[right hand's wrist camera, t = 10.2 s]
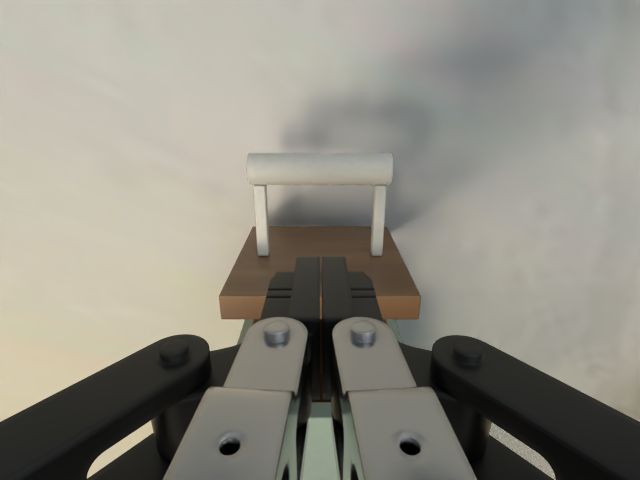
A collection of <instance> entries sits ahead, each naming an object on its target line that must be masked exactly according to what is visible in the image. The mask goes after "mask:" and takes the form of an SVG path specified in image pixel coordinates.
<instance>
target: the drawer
mask: <svg viewBox="0 0 640 480" xmlns="http://www.w3.org/2000/svg"><path fill="white" fill-rule="evenodd" d="M393 168H394V164H393V156H392V154H391V153H249V154H248V157H247V178H248V182H249V184H251V185H254V186H253V188H254V204H255V220H256V227H253V228H252V230H251V232H250V234H249V236H248V238H247V240H246V242H245V244H244V246H243V248H242V250H241V252H240V255H239V257H238V259H237V261H236V263H235V265H234V267H233V269H232V271H231V273H230V275H229V277H228V279H227V281H226V283H225V285H224V287H223V289H222V291H221V293H220V295H219V301H220V311H221V319H253V322H252V325H253V324H255V323H257V322H258V321H260V318H261V314H262V310H263V306H264V302H265V298H266V295H267V291H268V287H269V283H270V280H271V279H272V278H273V277H274V276H275V275H276V274H277V273H278V272H295V264H296V257H297V256H320V400H312V402H331V400H323V383H322V256H345V257H346V263H347V270H348V272H364V273H365V274H366V275H367V276H368V277H369V278H371V279H372V282H373V286H374V290H375V293H376V298H377V301H378V304H379V308H380V312H381V315H382V319H383V323H385V324H387V325H388V323H387V320H386V319H418V318H419V310H420V300H421V296H420V294H419V292H418V289H417V287H416V285H415V283H414V281H413V279H412V277H411V275H410V273H409V271H408V269H407V267H406V265H405V263H404V261H403V259H402V257H401V255H400V253H399V251H398V249H397V247H396V245H395V243H394V240H393V238H392V236H391V234H390V232H389V230H388V228H387V227H384V220H385V204H386V189H387V187H386V185H390V184H391V182H392V179H393ZM266 185H374V189H373V209H372V227H268V208H267V188H266Z"/></svg>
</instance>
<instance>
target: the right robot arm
mask: <svg viewBox="0 0 640 480" xmlns="http://www.w3.org/2000/svg"><path fill="white" fill-rule="evenodd" d="M322 383H323V400H331V431H332V439H333V447H334V455H335V463H336V471H337V479H338V480H554V479H552V478H551V477H549V476H548V475H546V474H545V473H543V472H542V471H541V470H539V469H538V468H536V467H535V466H533V465H532V464H531V463H529V462H528V461H526V460H525V459H523V458H522V457H521V456H519V455H518V454H516V453H515V452H513V451H512V450H510V449H509V448H508V447H506V446H505V445H503V444H502V443H500V442H499V441H498V440H496V439H495V438H493V437H492V436H490V435H489V432H490V427H491V422H493V423H494V424H496V425H497V426H499V427H500V428H502V429H503V430H505V431H506V432H508V433H509V434H511V435H512V436H514V437H515V438H517V439H518V440H520V441H521V442H523V443H524V444H526V445H527V446H529V447H530V448H532V449H533V450H535V451H536V452H538V453H539V454H540V455H541V456H543V457H544V458H545V459H546V460H547V462H548V463H549V464H550V466H551V467H552V469H553V471H554V473H555V477H556V480H640V422H639V421H637V420H635V419H633V418H631V417H629V416H627V415H625V414H623V413H621V412H619V411H617V410H615V409H613V408H611V407H609V406H607V405H606V404H604V403H602V402H600V401H598V400H596V399H594V398H592V397H590V396H588V395H586V394H584V393H582V392H580V391H578V390H576V389H574V388H572V387H571V386H569V385H567V384H565V383H563V382H561V381H559V380H557V379H555V378H553V377H551V376H549V375H547V374H545V373H543V372H541V371H539V370H538V369H536V368H534V367H532V366H530V365H528V364H526V363H524V362H522V361H520V360H518V359H516V358H514V357H512V356H510V355H508V354H506V353H505V352H503V351H501V350H499V349H497V348H495V347H493V346H491V345H489V344H487V343H485V342H483V341H481V340H478V339H475V338H472V337H468V336H460V335H451V336H446V337H442V338H440V339H438V340H437V341H436V342H435V343H434V345H433V347H432V351H429V350H424V349H419V348H415V347H411V346H408V345H405V344H403V343H401V342H399V341H397V339H396V337H395V335H394V332H393V331H392V329H391V328H390V327H389V326H388V325H387V324H385V323H383V319H382V315H381V312H380V308H379V304H378V301H377V298H376V293H375V290H374V286H373V282H372V279H371V278H369V277H368V276H367V275H366V274H365V273H364V272H348V270H347V263H346V257H345V256H322ZM312 400H320V256H297V257H296V264H295V272H278V273H277V274H276V275H275V276H274V277H273V278H272V279H271V280H270V283H269V287H268V291H267V295H266V298H265V302H264V306H263V310H262V314H261V318H260V321H258V322H257V323H255V324H253V325H252V326H251V327H250V328H249V329H248V331H247V332H246V335H245V337H244V339H243V342H242V343H240V344H238V345H235V346H232V347H229V348H224V349H219V350H215V351H210V350H209V345H208V343H207V342H206V340H204V339H203V338H201V337H199V336H195V335H185V334H184V335H175V336H170V337H167V338H164V339H161V340H159V341H157V342H155V343H153V344H151V345H149V346H147V347H145V348H143V349H141V350H139V351H137V352H135V353H134V354H132V355H130V356H128V357H126V358H124V359H122V360H120V361H118V362H116V363H114V364H112V365H110V366H108V367H106V368H104V369H102V370H101V371H99V372H97V373H95V374H93V375H91V376H89V377H87V378H85V379H83V380H81V381H79V382H77V383H75V384H73V385H71V386H69V387H68V388H66V389H64V390H62V391H60V392H58V393H56V394H54V395H52V396H50V397H48V398H46V399H44V400H42V401H40V402H38V403H36V404H34V405H33V406H31V407H29V408H27V409H25V410H23V411H21V412H19V413H17V414H15V415H13V416H11V417H9V418H7V419H5V420H3V421H1V422H0V480H302V479H303V471H304V463H305V455H306V447H307V439H308V431H309V417H310V414H311V407H312ZM150 420H151V422H152V427H153V432H154V433H152V434H151V435H150V436H148V437H147V438H145V439H144V440H142V441H141V442H140V443H138V444H137V445H135V446H134V447H132V448H131V449H130V450H128V451H127V452H125V453H124V454H122V455H121V456H119V457H118V458H117V459H115V460H114V461H112V462H111V463H109V464H108V465H107V466H105V467H104V468H102V469H101V470H99V471H98V472H97V473H95V474H94V475H92V476H91V477H89V478H88V479H87V473H88V470H89V468H90V466H91V465H92V463H93V462H94V460H95V459H96V458H97V457H98V456H99V455H100V454H101V453H103V452H104V451H105V450H107V449H108V448H110V447H111V446H113V445H114V444H116V443H117V442H119V441H120V440H122V439H123V438H125V437H126V436H128V435H129V434H131V433H132V432H134V431H135V430H137V429H138V428H140V427H141V426H143V425H144V424H146V423H147V422H149V421H150Z"/></svg>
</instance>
